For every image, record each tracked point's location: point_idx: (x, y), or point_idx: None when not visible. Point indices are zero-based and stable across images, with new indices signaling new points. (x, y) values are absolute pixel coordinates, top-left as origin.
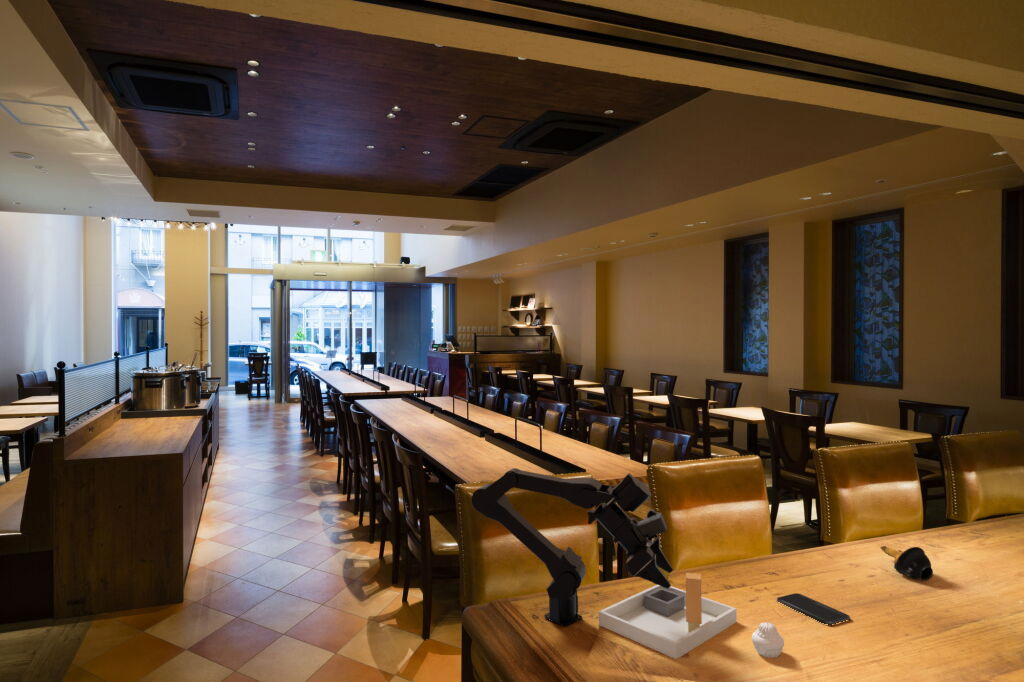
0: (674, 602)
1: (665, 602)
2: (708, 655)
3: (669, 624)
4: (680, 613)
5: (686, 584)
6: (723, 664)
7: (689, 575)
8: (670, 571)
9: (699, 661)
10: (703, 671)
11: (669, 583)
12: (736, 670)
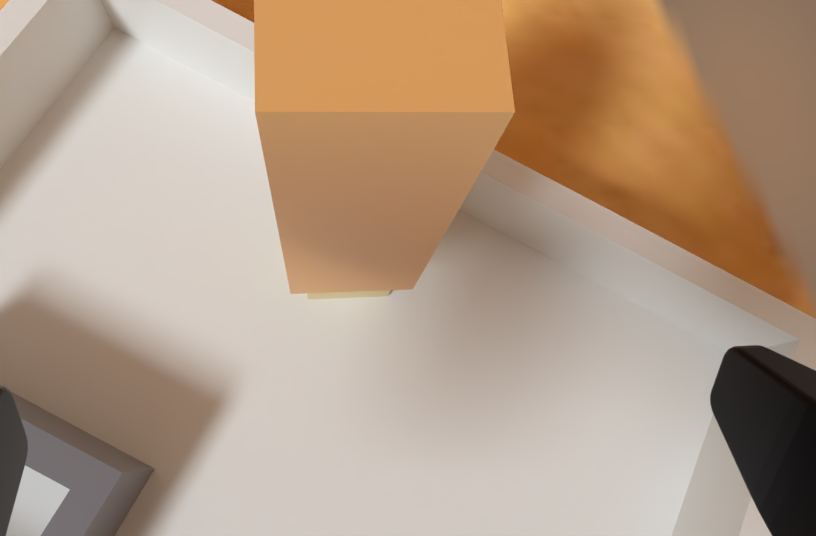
0: (32, 421)
1: (88, 505)
2: (563, 181)
3: (291, 442)
4: (55, 377)
5: (488, 149)
6: (626, 108)
7: (374, 57)
8: (20, 432)
9: (651, 226)
10: (742, 204)
11: (784, 360)
12: (656, 53)
